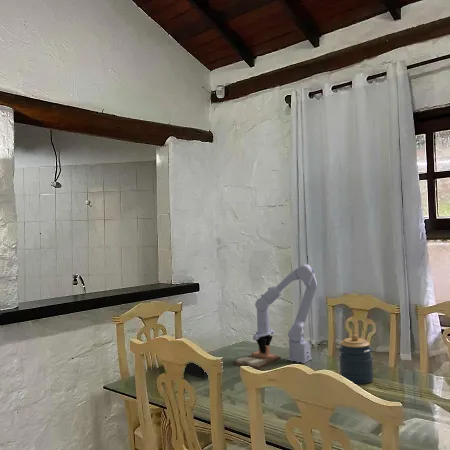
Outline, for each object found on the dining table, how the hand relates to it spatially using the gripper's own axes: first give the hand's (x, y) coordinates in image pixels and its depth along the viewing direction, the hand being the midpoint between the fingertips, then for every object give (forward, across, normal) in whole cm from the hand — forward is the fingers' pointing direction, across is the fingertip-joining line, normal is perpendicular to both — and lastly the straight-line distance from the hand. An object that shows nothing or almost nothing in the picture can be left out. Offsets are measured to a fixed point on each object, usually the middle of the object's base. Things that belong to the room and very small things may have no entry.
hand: (264, 352), depth 214 cm
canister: (+3, +4, +47) cm, 47 cm away
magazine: (+3, +34, -18) cm, 38 cm away
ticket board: (+3, +6, 0) cm, 7 cm away
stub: (+2, 0, 0) cm, 2 cm away
